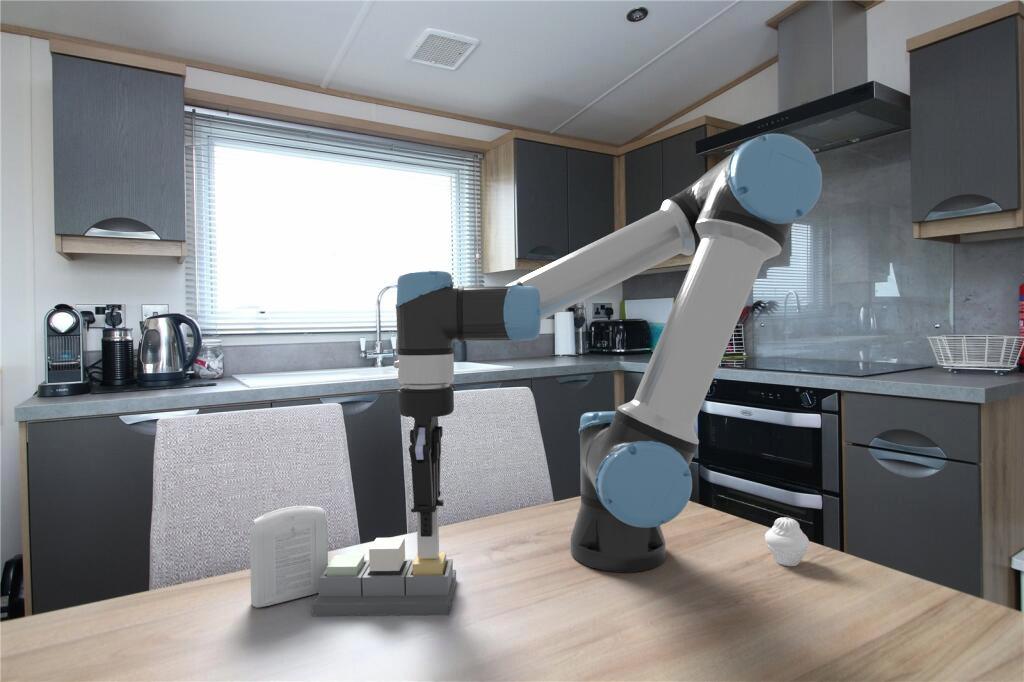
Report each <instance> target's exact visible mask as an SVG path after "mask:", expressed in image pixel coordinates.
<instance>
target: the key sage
mask: <svg viewBox="0 0 1024 682" xmlns="http://www.w3.org/2000/svg"><path fill="white" fill-rule="evenodd" d="M364 560H365V554H335V555H334V556H333V558H332V559H331V561H329V562H328V566H327V576H358V575H359V573H360V572H361V570H362V569H363V567H364Z"/></svg>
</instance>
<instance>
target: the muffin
mask: <svg viewBox="0 0 1024 682" xmlns="http://www.w3.org/2000/svg"><path fill="white" fill-rule="evenodd" d="M764 539H765V542H766V545H767V548H768V549H769V551H770V553H771V555H772V557H773V559H774V561H775V562H776V563H777V564H780V565H781V566H786V567H795V566H798V565H799V564H800V562H801V561H802V559H803V557H804V556H805V555H806V553H807V551H808V549H809V545H810V541H809V538H808V536H807V535H806V534H805V533H804V532H803V531H802V529H801V528H800V523H799V522H798V521H797V520H795V519H793V518H791V517H785V516H784V517H779V518H777V519H775V521H774V522H773V525H772V527H771V528H770V529H768V530H767V532H765V535H764Z"/></svg>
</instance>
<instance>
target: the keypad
mask: <svg viewBox="0 0 1024 682" xmlns="http://www.w3.org/2000/svg"><path fill="white" fill-rule="evenodd" d="M414 560H415V559H405V560H404V562H403V564H402V566H401V568H400V570H399V571H370V566H369V559H364V567H363V569H362V570H361V572H360V573H359V575H358V576H327V568H326V569H325V571H324V572H323V573H322V574H321V576H320V577H319V593H318V595H317V597H316V598H315V599H314V601H313V602H312V603H311V616H312V617H327V616H328V617H341V616H342V617H343V616H344V617H346V616H422V615H423V616H425V615H426V616H429V615H431V616H435V615H438V616H439V615H441V616H442V615H443V616H446V615H449V611H450V608H451V602H452V600H453V599H452V598H453V595H454V591H455V586H456V581H457V569H454V567H453V563H454V562H453V558H446V571H445V575H413V562H414Z"/></svg>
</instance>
